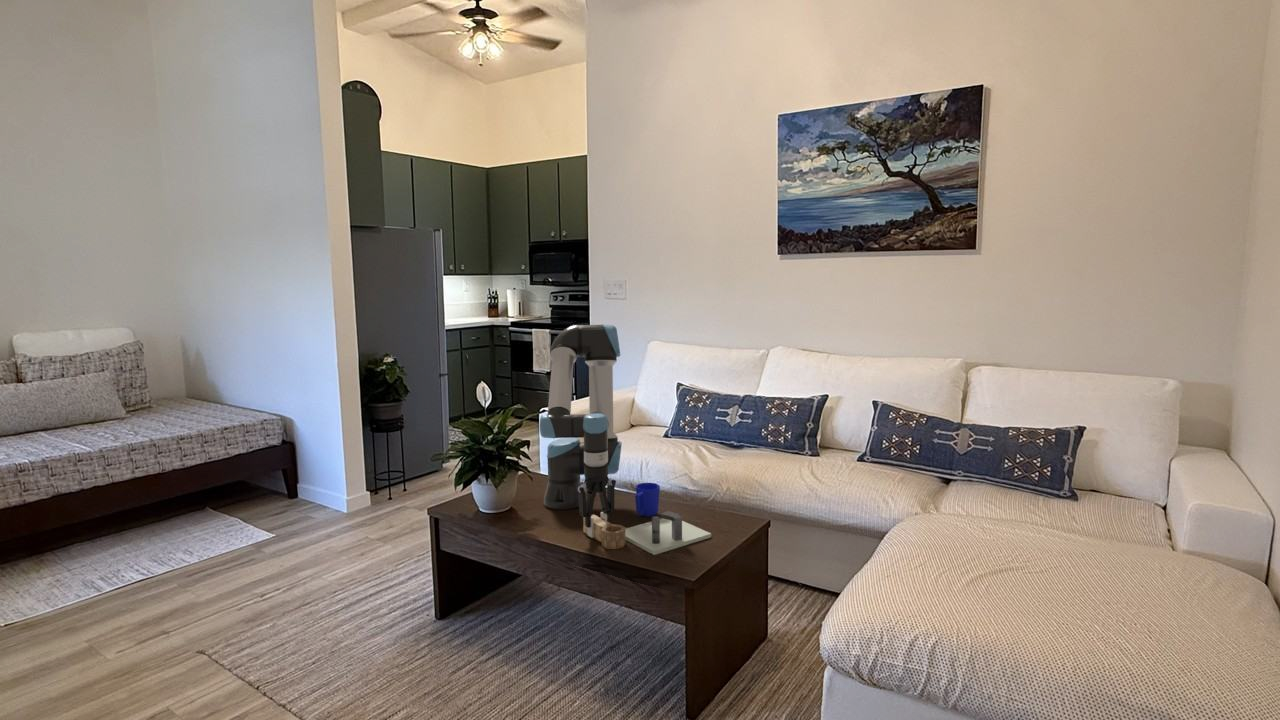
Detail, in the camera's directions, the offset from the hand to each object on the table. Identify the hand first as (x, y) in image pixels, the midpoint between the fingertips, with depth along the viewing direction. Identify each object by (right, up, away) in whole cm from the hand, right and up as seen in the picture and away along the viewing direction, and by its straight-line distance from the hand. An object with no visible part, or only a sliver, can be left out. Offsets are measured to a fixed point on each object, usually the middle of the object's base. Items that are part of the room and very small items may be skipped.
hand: (597, 534), depth 221 cm
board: (+21, 0, -1) cm, 21 cm away
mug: (+15, +2, +17) cm, 23 cm away
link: (+2, -1, -3) cm, 4 cm away
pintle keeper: (+21, -1, -6) cm, 22 cm away
